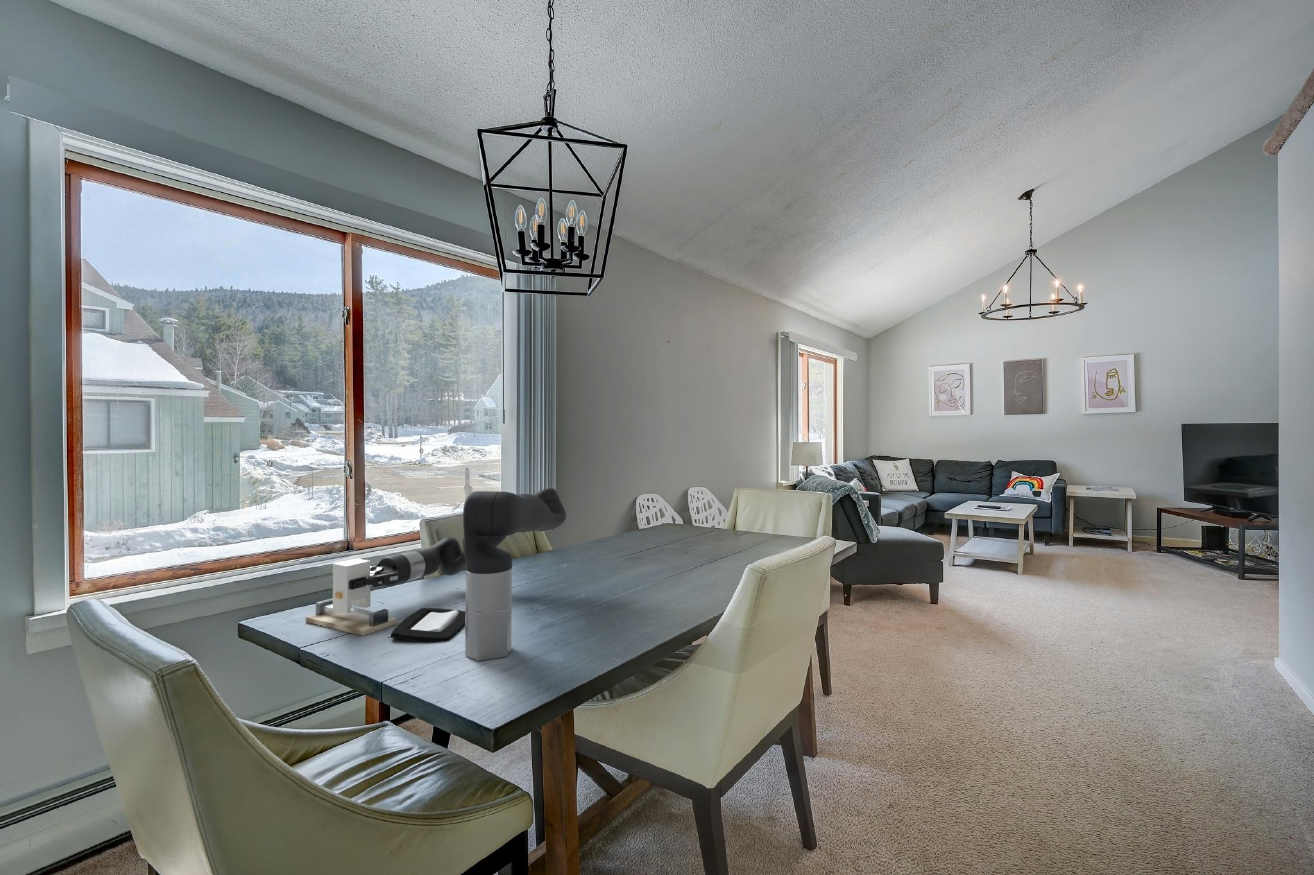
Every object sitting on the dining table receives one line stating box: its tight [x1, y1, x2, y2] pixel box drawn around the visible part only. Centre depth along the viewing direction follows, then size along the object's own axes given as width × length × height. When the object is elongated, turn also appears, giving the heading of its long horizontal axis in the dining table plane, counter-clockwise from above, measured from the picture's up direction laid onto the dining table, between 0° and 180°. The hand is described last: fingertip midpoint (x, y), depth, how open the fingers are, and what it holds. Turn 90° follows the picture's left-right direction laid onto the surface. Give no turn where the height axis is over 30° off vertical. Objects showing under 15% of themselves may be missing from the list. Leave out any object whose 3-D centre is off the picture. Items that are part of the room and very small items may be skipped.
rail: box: [315, 597, 389, 627], centre depth 136 cm, size 20×4×3 cm, turn 65°
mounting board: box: [305, 613, 398, 637], centre depth 136 cm, size 20×9×1 cm, turn 65°
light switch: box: [390, 607, 466, 643], centre depth 134 cm, size 20×3×14 cm
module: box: [332, 558, 372, 614], centre depth 136 cm, size 5×7×11 cm
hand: (341, 583), depth 134 cm, fingers closed on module, 5 cm apart
